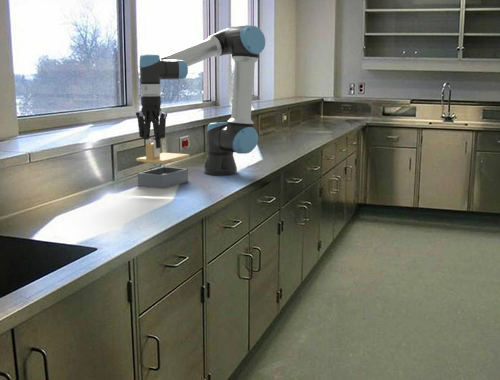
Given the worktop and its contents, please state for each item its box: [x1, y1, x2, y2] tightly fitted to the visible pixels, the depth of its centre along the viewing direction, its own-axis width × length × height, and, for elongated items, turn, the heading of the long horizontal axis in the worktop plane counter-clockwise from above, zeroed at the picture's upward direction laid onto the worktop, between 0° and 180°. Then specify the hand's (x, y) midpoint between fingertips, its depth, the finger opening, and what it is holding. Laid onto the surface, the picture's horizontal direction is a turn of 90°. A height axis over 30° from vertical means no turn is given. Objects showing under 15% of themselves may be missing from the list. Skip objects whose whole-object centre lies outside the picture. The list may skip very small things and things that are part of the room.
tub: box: [137, 166, 189, 190], centre depth 237 cm, size 18×12×6 cm, turn 153°
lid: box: [135, 142, 190, 165], centre depth 235 cm, size 19×13×8 cm
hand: (152, 156), depth 229 cm, fingers closed on lid, 3 cm apart
